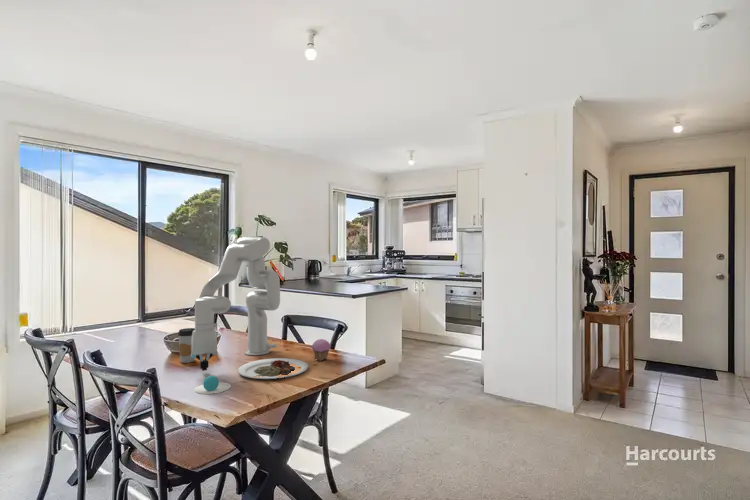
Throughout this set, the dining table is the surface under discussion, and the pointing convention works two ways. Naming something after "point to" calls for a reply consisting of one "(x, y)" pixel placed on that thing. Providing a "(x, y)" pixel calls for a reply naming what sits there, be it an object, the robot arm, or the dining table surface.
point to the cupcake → (321, 349)
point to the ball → (210, 383)
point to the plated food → (271, 368)
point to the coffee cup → (185, 345)
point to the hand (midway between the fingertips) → (204, 369)
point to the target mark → (221, 388)
